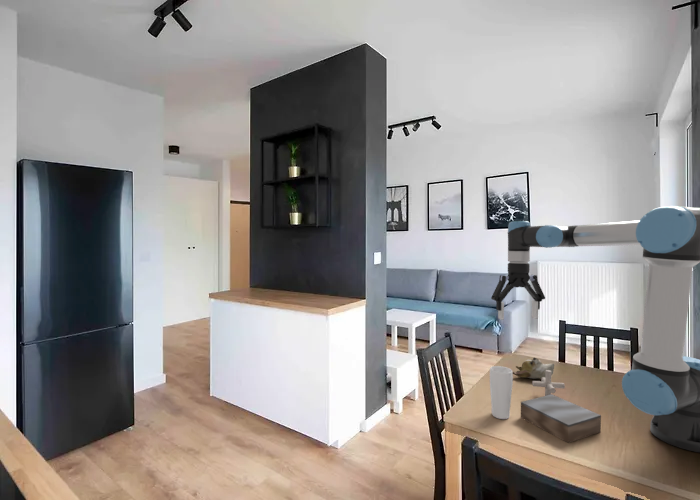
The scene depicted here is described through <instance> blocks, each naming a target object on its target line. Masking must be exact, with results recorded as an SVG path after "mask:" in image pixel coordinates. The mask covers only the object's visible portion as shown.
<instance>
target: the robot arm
mask: <svg viewBox="0 0 700 500" xmlns="http://www.w3.org/2000/svg"><path fill="white" fill-rule="evenodd" d="M507 227H508V229H507V261H508V263H507V275H502V274H501V275H499V278H498V279H499V280H498V283H497V285H496V287H495V289H494V291H493V293H492V296H491V300H493V301H495V304H496V305H495V306H496V307H495V308H496V311H498V312H497V313H498V314H497V318H498V320H501V321H504V320H505V302H504V301H503V300H504V299H505V298H506V297H507V296H508V294H509V293H510V292H511V291H512V290H513V289H514V288H524V289H525V290H526V291H527V292H528V294H529V295H530V297H531V298H532V299H531V318H532V319H535V320H536V319H537V320H538V318H539V310H540V308H541V306H540V305H541V302H542V301H543V300H545V299H546V297H545V294H544V292H543V290H542V288H541V286H540V283H539V281H538V275H537V274H531V275H530V263H529V262H530V261H531V258H530V257H531V251H530V250H531V249H530V248H563V247H564V248H575V247H577V248H578V247H605V246H606V247H611V246H641V247H642V248H643V249H642V259H644V260H645V261H646V262H647V263H648V275H647V284H646V294H645V304H644V305H645V306H644V313H643V314H644V315H643V323H642V324H643V325H642V334H641V347H640V351H638V352H637V353H635V354H633V357H632V363H631V365H632V366H631V369H630V370H629V371H627V372H626V373H625V374H624V375H623V377H622V379H621V387H622V388H621V389H622V391H623V393H624V395H625V397H626V399H628V401H629V402H630V403H631V404H632V405H633V406H634V407H635V408H636V409H638V410H639V411H641V412H642V413H645V414H647V415H651V416H652V418H651V421H650V426H649V427H650V432H651V434H652V435H653V436H655V437H656V438H657V439H659V440H660V441H663V442H664V443H667V444H668V445H671V446H674V447H677V448H679V449H682V450H686V451H691V452H694V453H700V359H698V358H695V357H691V356H687V355H684V352H685V351H684V350H685V349H684V348H685V341H686V340H685V339H686V331H687V321H688V313H689V306H690V305H689V302H690V293H691V286H692V285H691V284H692V277H693V276H692V275H693V268H694V267H695V266H697V265H698V264H699V263H700V207H690V206H681V205H680V206H679V205H669V206H661V207H657V208H656V207H655V208H654V209H652V210H649V211H648V212H647V213H646V214H644V215H643V216H641V218H640V220H630V221H617V222H607V223H604V222H603V223H593V224H591V223H590V224H580V225H575V224H574V225H561V226H560V225H551V224H550V225H548V224H545V225H537V226H536V225H533V226H532V225H531V222H529V221H528V220H525V221H523V220H518V221H517V220H516V221H510V222H509V223H508V225H507ZM529 281H530V282H531V284H530V283H529ZM506 282H507V283H506ZM504 286H505V287H504Z"/></svg>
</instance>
